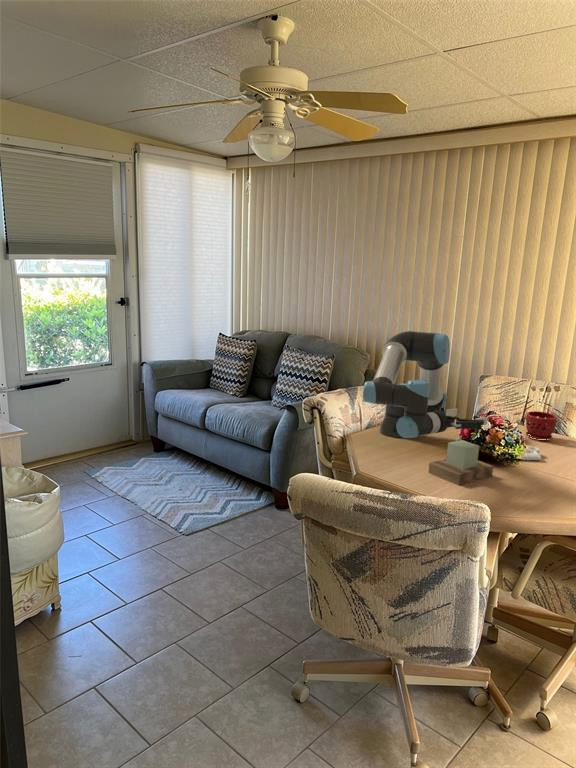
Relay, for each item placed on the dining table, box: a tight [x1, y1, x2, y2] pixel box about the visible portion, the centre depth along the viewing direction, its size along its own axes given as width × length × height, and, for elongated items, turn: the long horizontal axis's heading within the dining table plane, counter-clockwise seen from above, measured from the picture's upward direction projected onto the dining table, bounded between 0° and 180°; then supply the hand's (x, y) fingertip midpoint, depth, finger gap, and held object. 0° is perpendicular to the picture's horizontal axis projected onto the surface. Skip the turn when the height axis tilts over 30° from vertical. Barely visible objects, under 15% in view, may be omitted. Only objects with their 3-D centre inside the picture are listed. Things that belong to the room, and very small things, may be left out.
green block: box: [445, 439, 480, 469], centre depth 215 cm, size 8×8×8 cm
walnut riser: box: [428, 458, 494, 486], centre depth 216 cm, size 20×14×4 cm
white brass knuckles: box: [521, 445, 542, 461], centre depth 243 cm, size 3×18×15 cm
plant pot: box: [525, 410, 558, 440], centre depth 270 cm, size 13×13×12 cm
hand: (471, 416), depth 213 cm, fingers open, 13 cm apart
